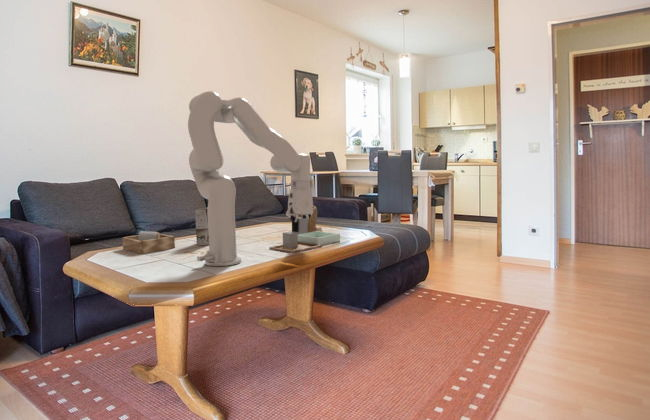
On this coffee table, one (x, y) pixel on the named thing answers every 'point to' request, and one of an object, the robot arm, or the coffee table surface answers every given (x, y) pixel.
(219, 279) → the coffee table surface
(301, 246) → the tray
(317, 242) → the pale green square tray
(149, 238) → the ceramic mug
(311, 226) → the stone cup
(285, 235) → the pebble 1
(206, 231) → the coffee box
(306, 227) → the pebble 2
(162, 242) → the wooden box
